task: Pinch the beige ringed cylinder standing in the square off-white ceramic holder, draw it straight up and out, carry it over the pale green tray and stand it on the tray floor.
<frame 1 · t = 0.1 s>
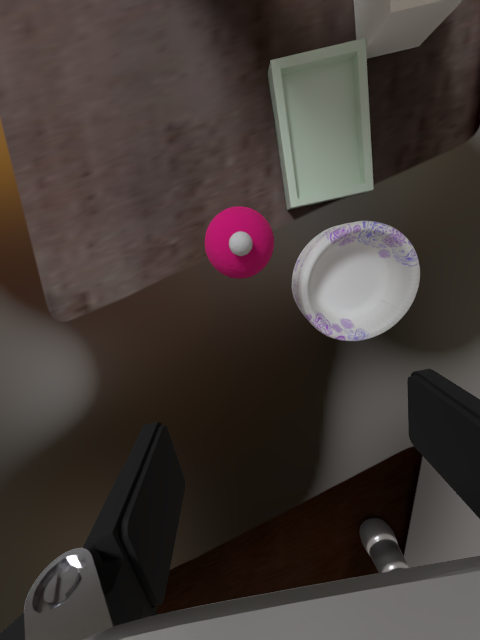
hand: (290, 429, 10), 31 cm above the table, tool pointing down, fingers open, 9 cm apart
holder: (386, 14, 31), on the table
tray: (318, 137, 34), on the table
pepper mill: (236, 243, 38), on the table
plastic bottle: (370, 523, 55), on the table
paper bowls: (336, 277, 40), on the table
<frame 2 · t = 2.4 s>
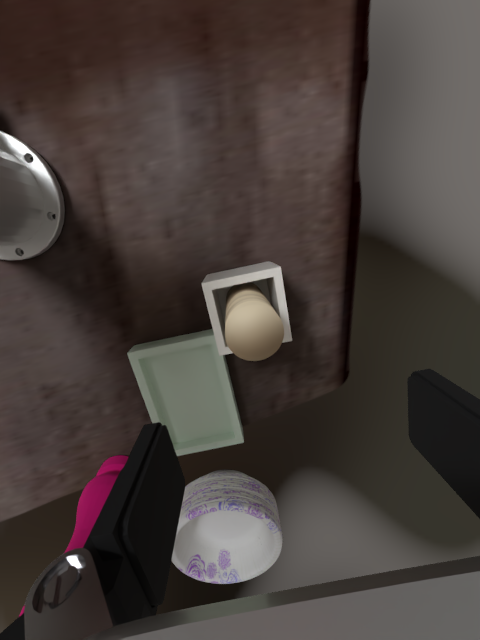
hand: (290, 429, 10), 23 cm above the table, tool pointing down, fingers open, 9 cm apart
holder: (244, 298, 32), on the table
beige ringed cylinder: (244, 300, 31), point 1 cm above the table, touching holder
tray: (192, 390, 36), on the table
pepper mill: (123, 470, 39), on the table
paper bowls: (225, 491, 41), on the table
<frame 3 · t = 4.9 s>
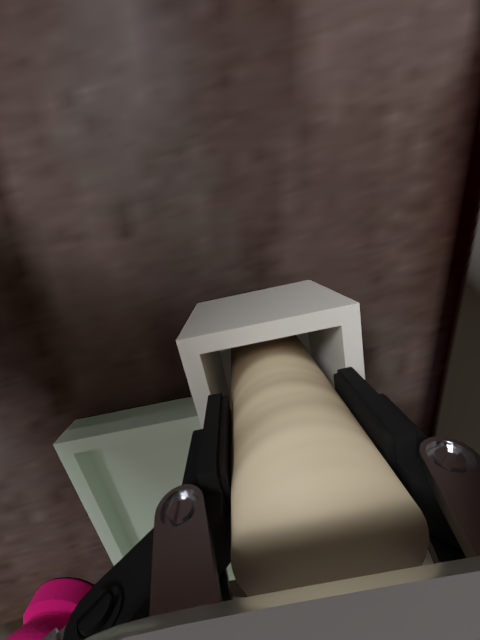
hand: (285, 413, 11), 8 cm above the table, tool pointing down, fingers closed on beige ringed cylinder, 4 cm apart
holder: (263, 343, 18), on the table
beige ringed cylinder: (264, 349, 17), point 1 cm above the table, touching gripper, holder
tray: (174, 486, 22), on the table
pepper mill: (71, 595, 25), on the table
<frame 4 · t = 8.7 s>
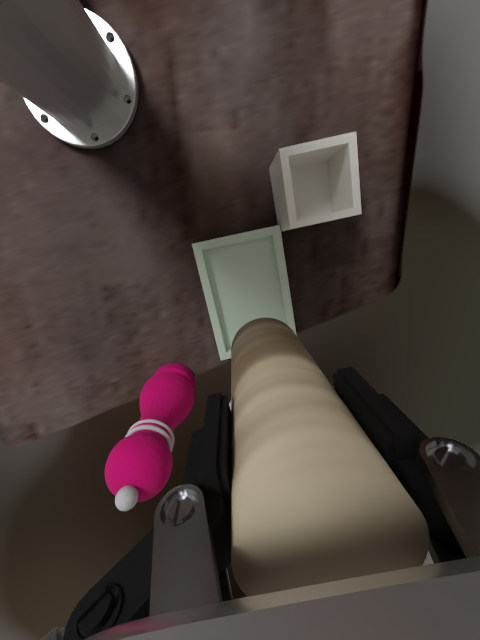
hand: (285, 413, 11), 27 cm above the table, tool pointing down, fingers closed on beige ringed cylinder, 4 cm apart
holder: (303, 194, 33), on the table
beige ringed cylinder: (264, 349, 17), point 20 cm above the table, touching gripper
tray: (247, 293, 36), on the table
pepper mill: (174, 380, 40), on the table
when the fingers open (10 cm above the table, at t = 12.5 s): beige ringed cylinder drops 2 cm, resting on tray.
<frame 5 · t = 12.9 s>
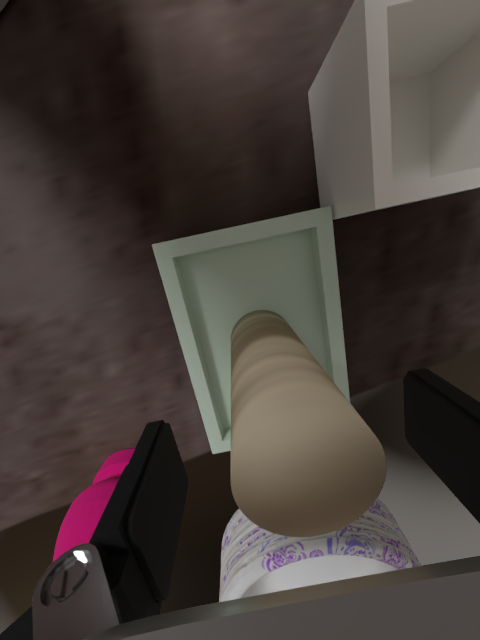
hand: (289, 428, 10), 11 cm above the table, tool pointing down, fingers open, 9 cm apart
holder: (373, 148, 17), on the table
beige ringed cylinder: (261, 339, 19), point 1 cm above the table, touching tray
tray: (260, 334, 20), on the table
pepper mill: (137, 473, 24), on the table
paper bowls: (299, 508, 26), on the table
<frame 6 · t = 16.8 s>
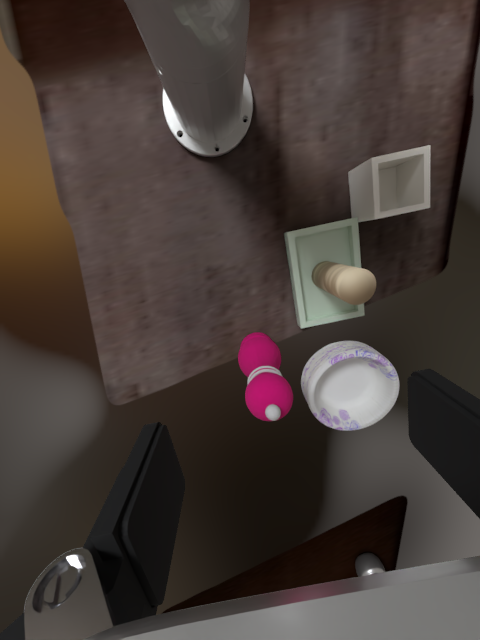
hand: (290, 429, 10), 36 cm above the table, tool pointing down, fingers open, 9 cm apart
holder: (373, 193, 41), on the table
beige ringed cylinder: (324, 274, 43), point 1 cm above the table, touching tray
tray: (322, 274, 45), on the table
pepper mill: (257, 347, 48), on the table
plastic bottle: (364, 556, 65), on the table
paper bowls: (335, 370, 50), on the table
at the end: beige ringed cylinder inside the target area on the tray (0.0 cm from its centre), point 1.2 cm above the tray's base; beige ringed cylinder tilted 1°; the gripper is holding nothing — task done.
